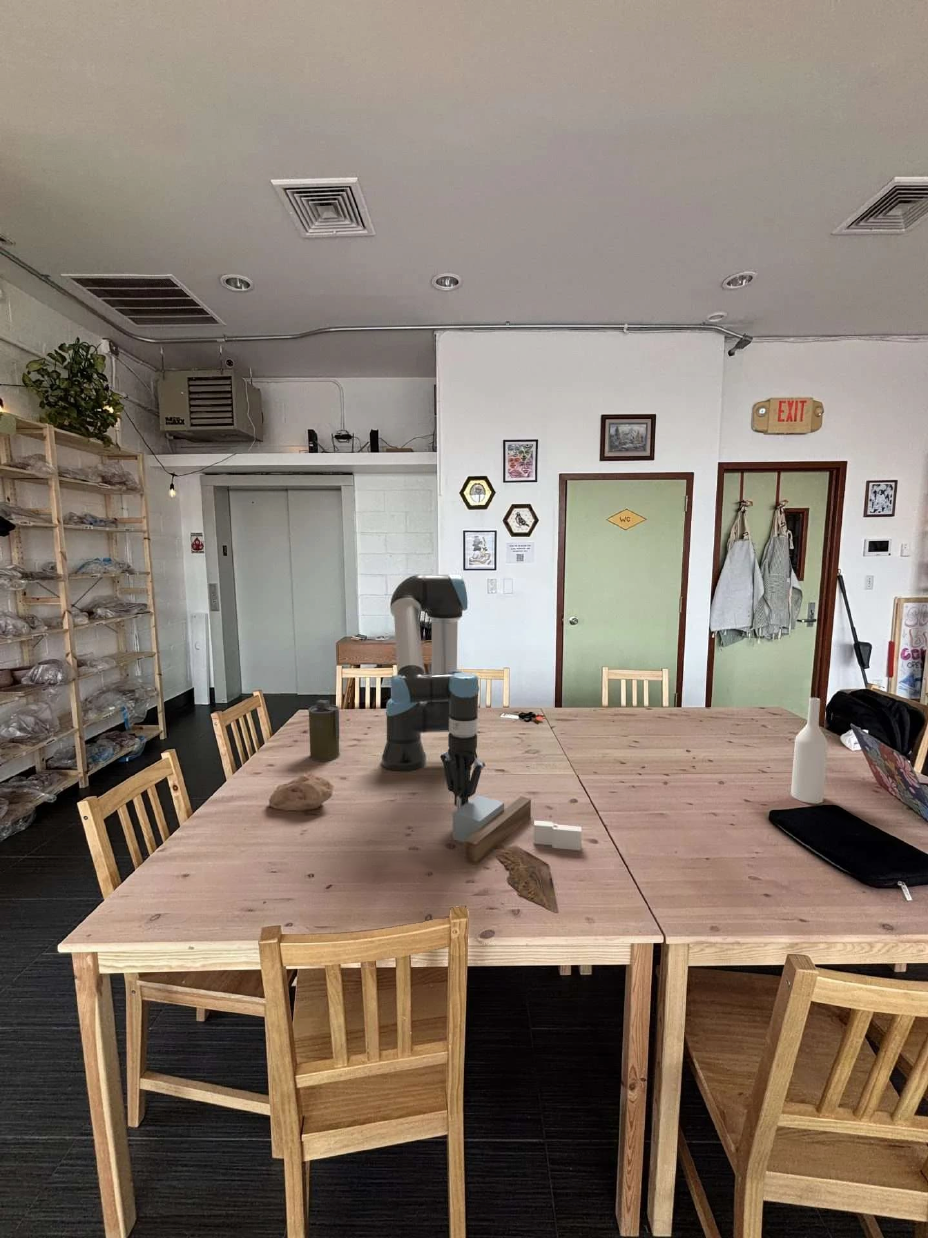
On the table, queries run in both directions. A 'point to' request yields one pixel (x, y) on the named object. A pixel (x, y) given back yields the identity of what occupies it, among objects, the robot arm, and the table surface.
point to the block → (474, 816)
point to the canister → (324, 731)
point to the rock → (302, 793)
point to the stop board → (497, 830)
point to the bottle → (810, 759)
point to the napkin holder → (557, 835)
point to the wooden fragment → (529, 876)
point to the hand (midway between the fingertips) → (460, 818)
